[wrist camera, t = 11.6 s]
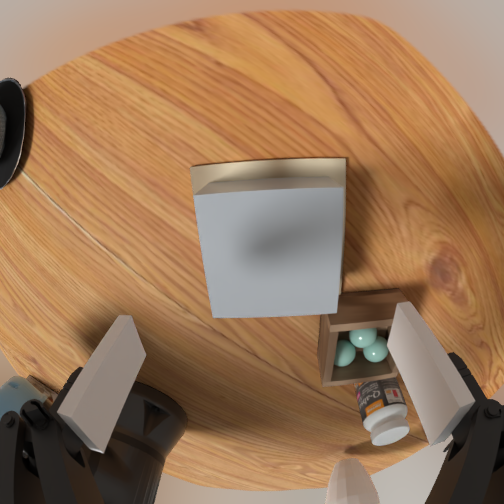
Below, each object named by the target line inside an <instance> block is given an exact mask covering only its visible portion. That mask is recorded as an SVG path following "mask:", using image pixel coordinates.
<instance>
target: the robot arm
mask: <svg viewBox="0 0 504 504" xmlns="http://www.w3.org/2000/svg"><path fill="white" fill-rule="evenodd" d="M387 347H388V349H389V351H390V353H391V355H392V357H393V359H394V361H395V364H396V366H397V368H398V370H399V372H400V374H401V377H402V379H403V381H404V383H405V385H406V388H407V390H408V392H409V395H410V397H411V399H412V402H413V404H414V406H415V409H416V411H417V414H418V416H419V418H420V421H421V423H422V426H423V429H424V431H425V434H426V436H427V439H428V442H429V444H430V446H432V445H435V444H438V443H441V442H443V441H445V440H446V439H447V438H448V436H449V435H450V434H451V433H452V436H453V438H454V439H453V440H452V441H451V442H450V443H449V444H448V446H447V447H446V448H445V450H444V451H443V452H446V451H447V450H448V452H447V455H446V458H445V460H444V463H443V465H442V468H441V470H440V473H439V475H438V477H437V479H436V481H435V484H434V486H433V488H432V490H431V492H430V495H429V496H428V498H427V500H426V502H425V504H504V405H501V404H500V403H499V402H498V401H495V400H493V399H487V398H486V396H485V395H484V393H483V391H482V390H481V388H480V386H479V385H478V383H477V381H476V380H475V378H474V377H473V375H471V372H470V370H469V369H467V366H466V364H465V363H464V361H463V360H462V358H460V357H459V356H458V355H456V354H455V353H454V352H452V353H449V354H447V353H446V352H445V350H444V349H443V347H442V346H441V344H440V343H439V341H438V340H437V338H436V337H435V335H434V334H433V332H432V331H431V330H430V328H429V327H428V325H427V324H426V322H425V321H424V320H423V318H422V317H421V316H420V314H419V313H418V311H417V310H416V309H415V307H414V306H413V305H412V303H411V302H402V303H397V306H396V311H395V315H394V319H393V324H392V328H391V332H390V335H389V339H388V343H387ZM145 357H146V353H145V351H144V348H143V345H142V343H141V340H140V338H139V335H138V332H137V330H136V327H135V324H134V321H133V318H132V315H119V316H118V317H117V319H116V320H115V321H114V323H113V324H112V326H111V327H110V329H109V330H108V332H107V333H106V334H105V336H104V337H103V339H102V340H101V342H100V343H99V345H98V346H97V348H96V349H95V351H94V352H93V354H92V355H91V357H90V359H89V360H88V362H87V363H86V365H85V366H84V368H83V367H79V368H78V369H76V370H75V371H74V372H73V373H72V374H71V375H70V377H69V379H68V380H67V383H65V385H64V386H63V389H62V390H61V391H60V393H59V394H58V396H57V398H56V399H55V401H54V403H52V402H51V401H50V400H49V399H48V397H47V396H46V395H45V394H42V393H41V392H40V391H39V390H38V389H36V388H35V387H34V386H33V385H32V384H31V383H30V382H29V381H28V380H26V379H25V378H23V377H21V376H14V377H12V378H10V379H9V380H8V381H7V382H6V383H5V384H4V385H2V386H1V387H0V504H154V502H155V498H156V494H157V489H158V486H159V482H160V478H161V474H162V471H163V467H164V463H165V460H166V457H167V455H168V454H169V453H170V452H171V450H172V449H173V448H174V446H175V445H176V444H177V442H178V441H179V440H180V438H181V437H182V436H183V434H184V432H185V428H186V425H187V416H186V414H185V412H184V411H183V409H182V408H181V407H180V406H179V405H178V404H177V403H176V402H175V401H173V400H172V399H171V398H169V397H168V396H166V395H165V394H163V393H161V392H159V391H157V390H155V389H153V388H151V387H149V386H146V385H144V384H141V383H138V382H134V381H135V379H136V377H137V374H138V372H139V370H140V368H141V366H142V364H143V361H144V359H145Z"/></svg>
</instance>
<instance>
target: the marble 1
mask: <svg viewBox="0 0 504 504" xmlns="http://www.w3.org/2000/svg"><path fill="white" fill-rule="evenodd" d="M355 355H356V350H355V347H354V345H353V344H352V343H351V342H350V341H348V340H345V339H341V340H337V346H336V353H335V359H334V365H336V366H340V367H343V366H347V365H349V364H350V363H351V362H352V361H353V360H354V358H355Z"/></svg>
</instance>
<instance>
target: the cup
mask: <svg viewBox="0 0 504 504" xmlns="http://www.w3.org/2000/svg"><path fill="white" fill-rule="evenodd" d="M325 504H380V502H379V498H378V493H377V491H376V489H375V486H374V484H373V482H372V480H371V477H370V476H369V474H368V472H367V471H366V469H365V468H364V466H363V465H362V464H361V462H360V461H359V460H358V459H357V458H349V459H344V460H341V461H339V462H337V463H336V464H335V466H334V468H333V471H332V474H331V477H330V481H329V484H328V489H327V495H326V501H325Z"/></svg>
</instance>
